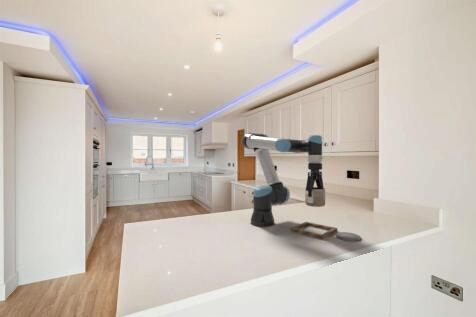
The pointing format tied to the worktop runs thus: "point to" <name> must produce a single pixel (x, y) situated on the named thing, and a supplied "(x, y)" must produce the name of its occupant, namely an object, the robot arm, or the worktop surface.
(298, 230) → the holder frame
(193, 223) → the worktop surface
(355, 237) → the slate trivet
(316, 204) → the planter
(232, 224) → the worktop surface
